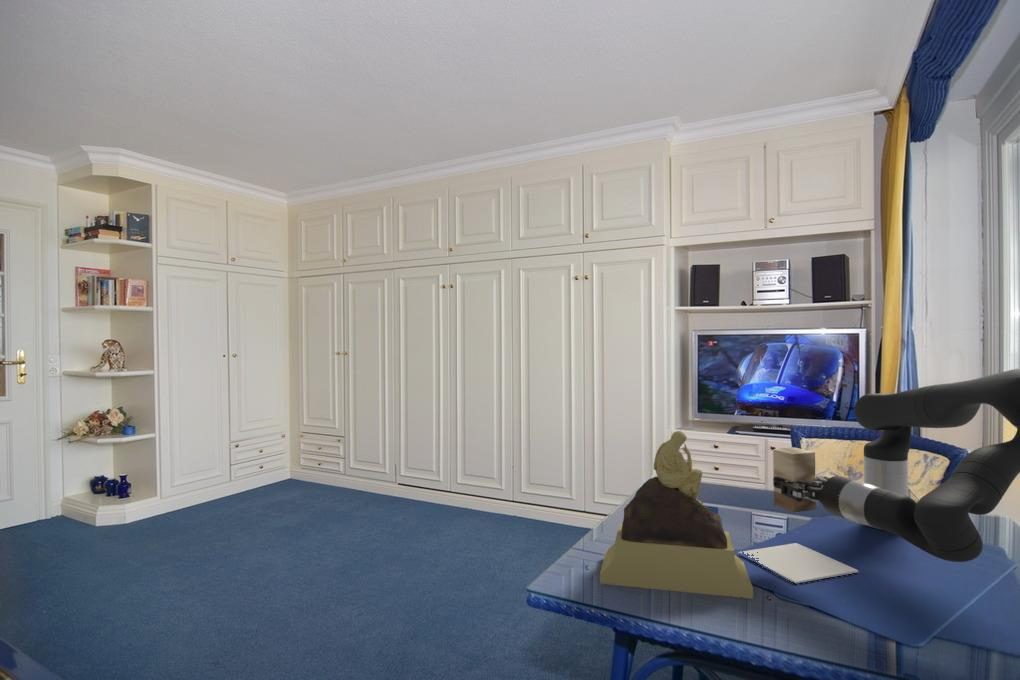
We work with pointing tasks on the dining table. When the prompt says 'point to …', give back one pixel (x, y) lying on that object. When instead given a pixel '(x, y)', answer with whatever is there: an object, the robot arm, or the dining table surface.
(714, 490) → the dining table surface
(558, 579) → the dining table surface
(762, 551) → the off-white mat
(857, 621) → the dining table surface
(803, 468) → the two-tone block
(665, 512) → the seated figure statue
